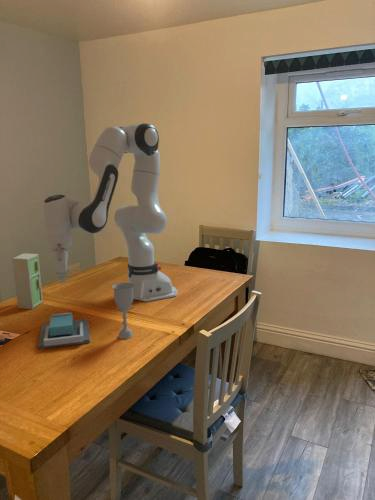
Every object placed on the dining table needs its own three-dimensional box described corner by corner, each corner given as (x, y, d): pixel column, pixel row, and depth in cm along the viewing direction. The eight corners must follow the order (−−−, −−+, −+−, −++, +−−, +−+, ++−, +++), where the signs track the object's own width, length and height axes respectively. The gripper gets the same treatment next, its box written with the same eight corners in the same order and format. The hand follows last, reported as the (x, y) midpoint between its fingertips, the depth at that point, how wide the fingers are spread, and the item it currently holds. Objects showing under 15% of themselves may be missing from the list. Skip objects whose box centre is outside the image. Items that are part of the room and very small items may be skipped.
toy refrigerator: (33, 309, 156) (28, 259, 150) (17, 308, 157) (11, 258, 152) (44, 302, 163) (40, 253, 158) (29, 301, 165) (23, 253, 159)
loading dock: (88, 321, 147) (87, 310, 146) (90, 347, 128) (89, 335, 127) (43, 326, 143) (42, 315, 142) (38, 353, 124) (37, 341, 123)
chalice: (118, 342, 129) (115, 290, 124) (112, 333, 135) (109, 284, 130) (139, 337, 132) (137, 287, 128) (132, 329, 138) (130, 281, 134)
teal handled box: (73, 325, 139) (72, 312, 138) (72, 337, 130) (71, 323, 129) (52, 327, 137) (51, 314, 136) (50, 339, 128) (48, 325, 127)
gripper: (68, 247, 130) (72, 286, 133) (69, 234, 149) (72, 269, 152) (48, 249, 128) (52, 288, 132) (51, 235, 147) (55, 270, 151)
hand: (63, 278), depth 142 cm, fingers open, 8 cm apart
